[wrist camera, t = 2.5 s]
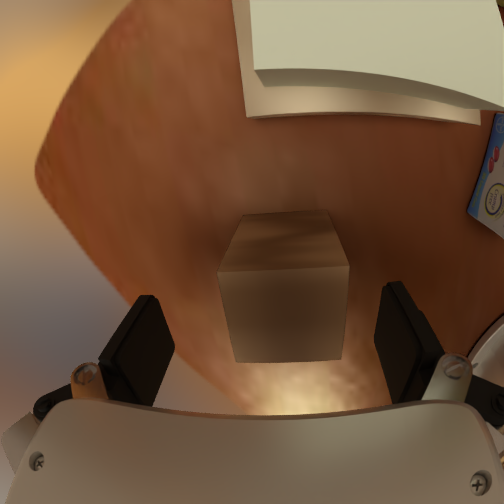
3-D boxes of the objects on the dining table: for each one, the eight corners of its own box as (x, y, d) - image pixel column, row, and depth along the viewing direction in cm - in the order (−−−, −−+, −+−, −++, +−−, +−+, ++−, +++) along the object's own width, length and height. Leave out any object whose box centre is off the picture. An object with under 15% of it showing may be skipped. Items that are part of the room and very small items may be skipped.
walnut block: (326, 209, 16) (349, 265, 10) (327, 282, 18) (341, 359, 12) (243, 215, 17) (216, 272, 11) (252, 285, 19) (235, 362, 13)
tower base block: (412, -32, 8) (434, -55, 4) (444, 121, 13) (480, 125, 9) (234, -41, 10) (221, -72, 6) (256, 119, 15) (246, 117, 11)
